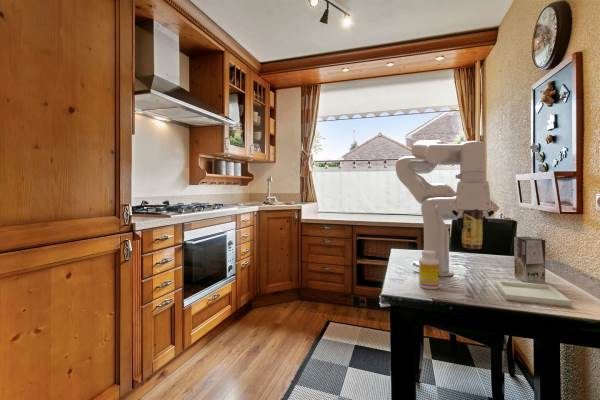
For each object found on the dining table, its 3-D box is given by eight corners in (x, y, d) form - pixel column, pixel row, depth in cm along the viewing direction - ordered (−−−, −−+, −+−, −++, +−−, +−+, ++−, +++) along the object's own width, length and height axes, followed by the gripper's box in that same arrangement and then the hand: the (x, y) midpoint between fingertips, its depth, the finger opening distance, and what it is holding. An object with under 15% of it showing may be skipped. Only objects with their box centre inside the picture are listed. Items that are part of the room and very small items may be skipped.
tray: (505, 300, 94) (505, 294, 94) (495, 285, 108) (495, 280, 108) (570, 306, 88) (570, 300, 87) (550, 290, 102) (550, 284, 102)
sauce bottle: (458, 246, 108) (458, 191, 107) (476, 246, 107) (476, 190, 107) (467, 250, 101) (468, 191, 100) (486, 249, 101) (487, 190, 100)
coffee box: (546, 284, 108) (546, 240, 108) (526, 283, 110) (526, 239, 109) (532, 277, 117) (532, 236, 117) (513, 276, 119) (513, 236, 118)
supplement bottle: (441, 290, 104) (441, 253, 104) (421, 289, 105) (421, 253, 105) (436, 284, 111) (436, 249, 110) (417, 283, 112) (417, 249, 111)
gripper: (445, 178, 103) (445, 230, 104) (504, 176, 96) (504, 232, 97) (444, 178, 110) (444, 227, 111) (499, 177, 103) (499, 229, 104)
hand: (472, 229), depth 104 cm, fingers closed on sauce bottle, 6 cm apart
